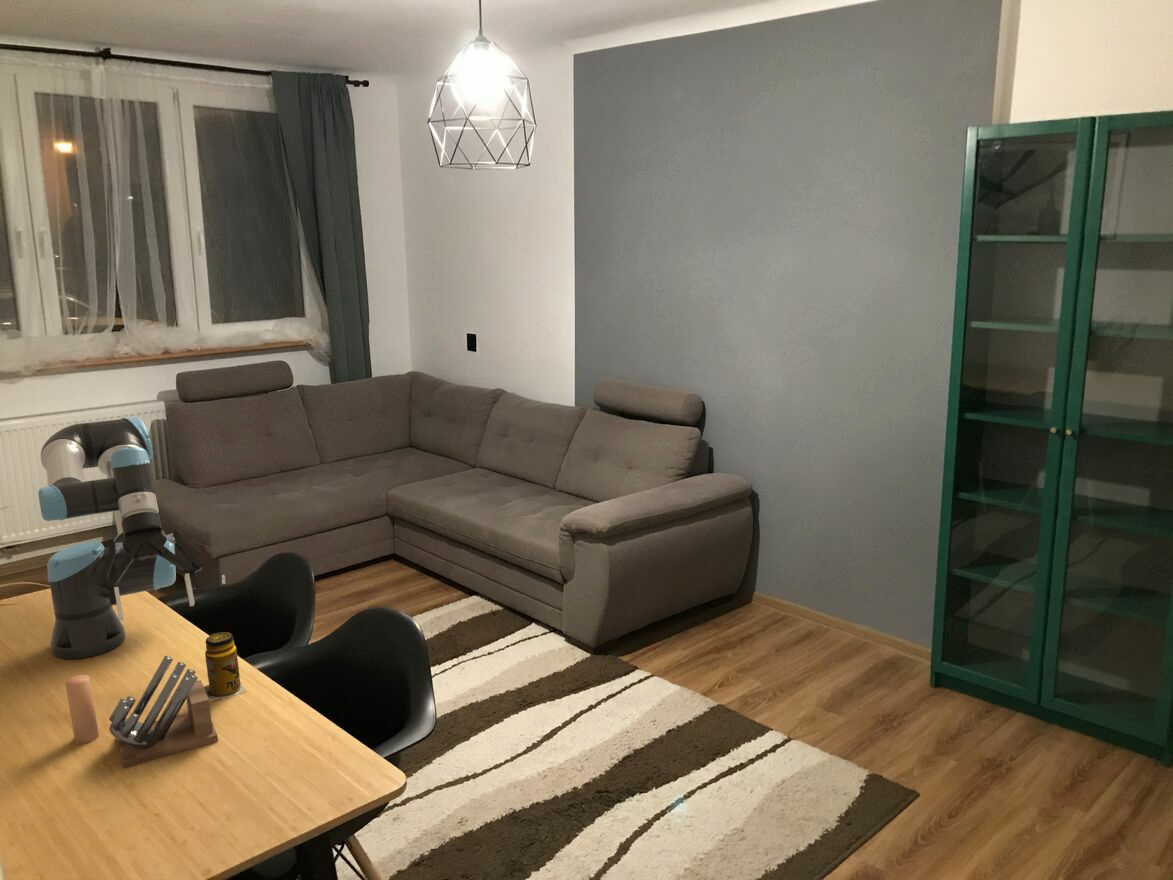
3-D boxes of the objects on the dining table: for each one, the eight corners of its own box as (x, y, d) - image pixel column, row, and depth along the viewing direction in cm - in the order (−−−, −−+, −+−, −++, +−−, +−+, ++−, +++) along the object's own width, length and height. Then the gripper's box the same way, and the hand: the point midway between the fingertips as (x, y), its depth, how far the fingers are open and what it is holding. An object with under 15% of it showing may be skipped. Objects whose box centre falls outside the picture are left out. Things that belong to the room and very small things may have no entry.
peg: (74, 736, 177) (64, 678, 174) (98, 729, 179) (88, 672, 176) (75, 745, 173) (65, 687, 171) (99, 739, 175) (90, 681, 173)
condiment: (246, 692, 192) (240, 638, 189) (203, 704, 187) (196, 649, 185) (237, 678, 198) (231, 626, 195) (195, 689, 193) (188, 636, 190)
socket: (110, 740, 175) (99, 670, 171) (199, 717, 182) (190, 648, 179) (115, 767, 166) (103, 693, 163) (208, 740, 174) (199, 669, 170)
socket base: (117, 737, 176) (111, 698, 174) (207, 712, 184) (202, 676, 182) (123, 767, 166) (117, 727, 164) (218, 740, 174) (213, 702, 172)
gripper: (73, 521, 190) (89, 621, 184) (203, 501, 203) (222, 594, 197) (75, 532, 196) (90, 629, 190) (200, 512, 209) (218, 603, 203)
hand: (157, 611), depth 193 cm, fingers open, 13 cm apart
